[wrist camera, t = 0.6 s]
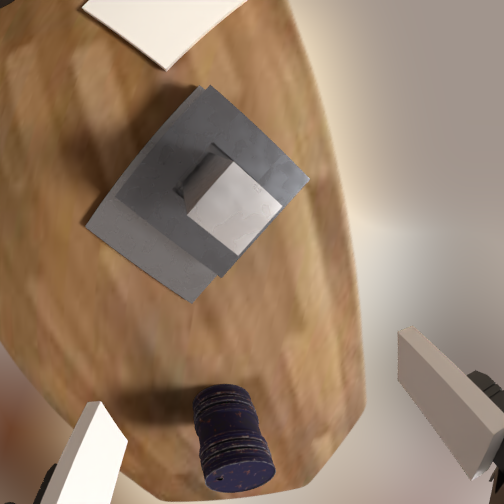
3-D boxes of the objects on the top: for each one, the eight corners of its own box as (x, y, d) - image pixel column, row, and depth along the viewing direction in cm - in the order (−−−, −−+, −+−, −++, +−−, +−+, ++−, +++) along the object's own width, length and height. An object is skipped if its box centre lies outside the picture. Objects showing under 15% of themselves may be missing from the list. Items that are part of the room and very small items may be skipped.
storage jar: (258, 384, 47) (287, 458, 34) (242, 422, 50) (264, 490, 36) (196, 381, 44) (210, 461, 30) (187, 420, 47) (198, 493, 33)
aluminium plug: (182, 182, 33) (186, 215, 19) (209, 151, 32) (233, 161, 19) (212, 207, 35) (238, 255, 21) (238, 177, 34) (282, 206, 21)
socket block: (87, 224, 33) (75, 237, 28) (199, 86, 30) (202, 78, 26) (191, 299, 39) (194, 321, 35) (298, 179, 37) (316, 185, 32)
